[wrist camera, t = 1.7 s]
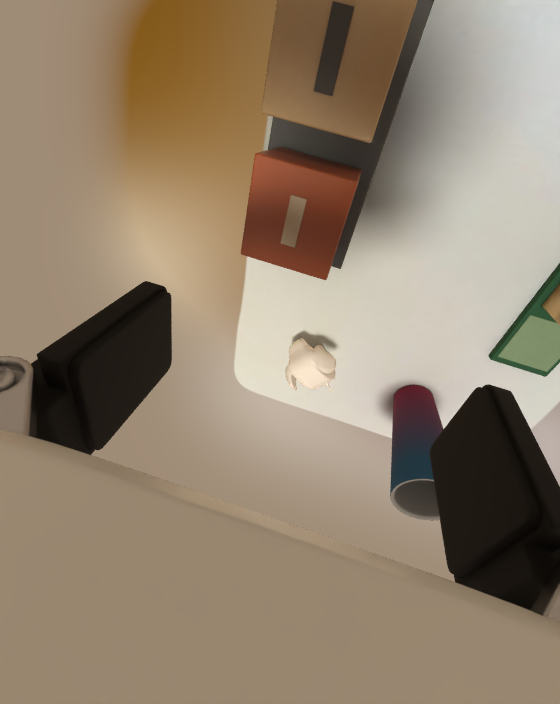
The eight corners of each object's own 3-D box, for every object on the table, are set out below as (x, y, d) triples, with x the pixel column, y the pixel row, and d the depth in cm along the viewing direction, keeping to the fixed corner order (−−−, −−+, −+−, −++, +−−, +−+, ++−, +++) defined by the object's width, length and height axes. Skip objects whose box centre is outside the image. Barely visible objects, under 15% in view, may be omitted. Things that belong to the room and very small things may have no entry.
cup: (376, 403, 46) (377, 501, 34) (406, 371, 42) (418, 469, 30) (419, 424, 46) (433, 528, 35) (452, 394, 42) (482, 500, 30)
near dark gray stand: (362, -108, 22) (331, -629, 7) (456, -87, 22) (649, -592, 6) (293, 203, 34) (225, 268, 19) (352, 220, 34) (332, 301, 18)
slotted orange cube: (280, 146, 19) (254, 152, 15) (362, 169, 19) (358, 182, 15) (264, 231, 22) (239, 255, 18) (335, 252, 22) (325, 281, 18)
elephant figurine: (317, 318, 41) (309, 344, 36) (354, 363, 43) (352, 392, 39) (278, 343, 44) (266, 370, 40) (315, 383, 47) (308, 412, 42)
